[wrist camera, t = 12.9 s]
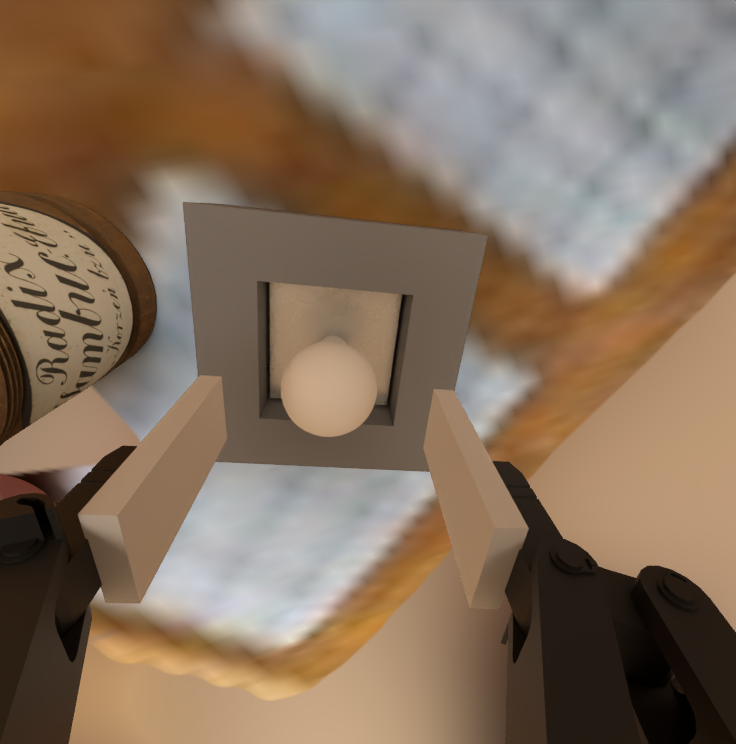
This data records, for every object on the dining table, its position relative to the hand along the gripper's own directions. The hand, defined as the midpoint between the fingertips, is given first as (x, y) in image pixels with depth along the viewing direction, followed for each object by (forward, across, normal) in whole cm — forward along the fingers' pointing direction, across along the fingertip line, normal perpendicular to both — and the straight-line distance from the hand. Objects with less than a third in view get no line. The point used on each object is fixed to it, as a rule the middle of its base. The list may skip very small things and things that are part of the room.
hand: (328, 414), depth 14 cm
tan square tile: (+20, 0, -4) cm, 20 cm away
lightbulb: (+17, 0, -4) cm, 17 cm away
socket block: (+21, 0, -4) cm, 21 cm away
